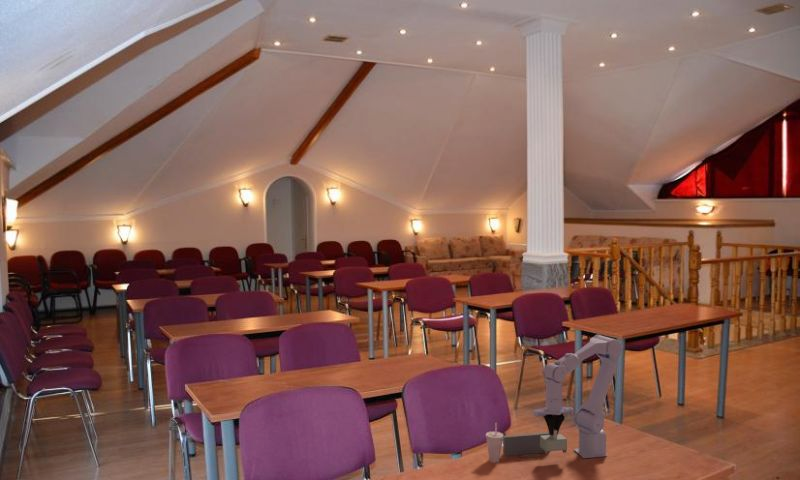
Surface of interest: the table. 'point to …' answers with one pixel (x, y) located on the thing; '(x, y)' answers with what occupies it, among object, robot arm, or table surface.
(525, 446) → the wall board
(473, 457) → the table surface
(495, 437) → the smoothie
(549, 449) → the grey block
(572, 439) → the table surface
